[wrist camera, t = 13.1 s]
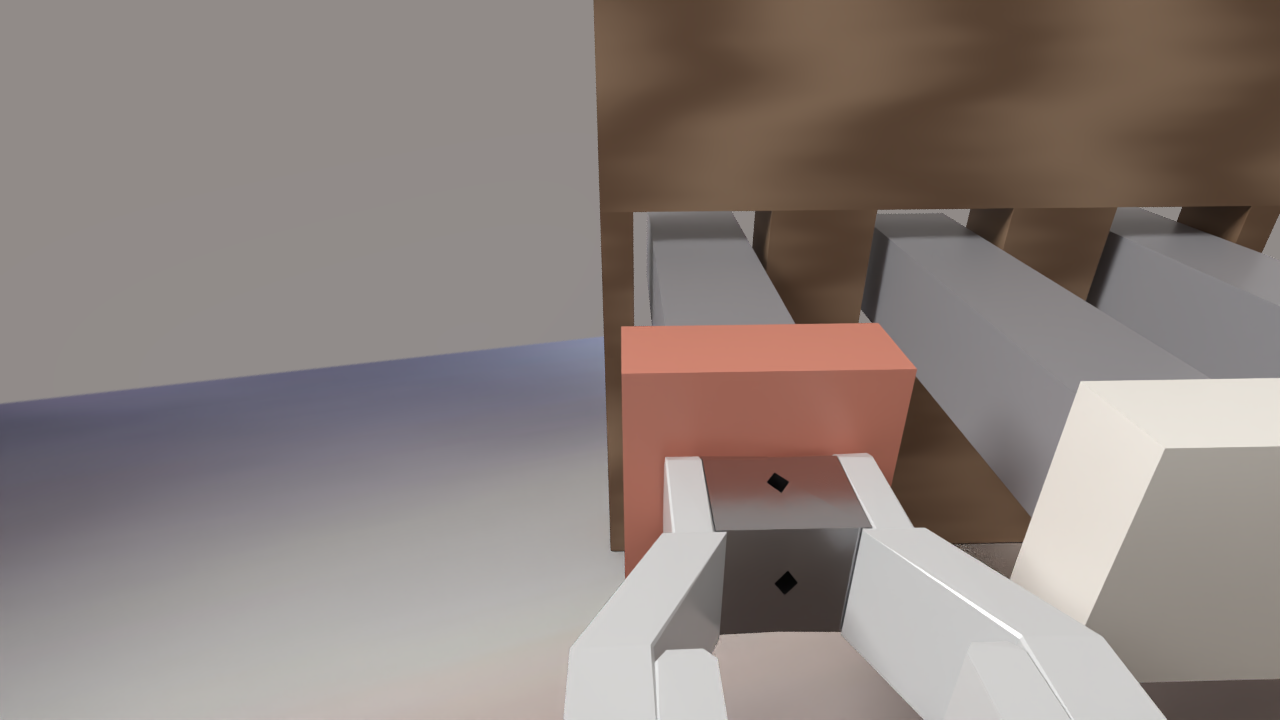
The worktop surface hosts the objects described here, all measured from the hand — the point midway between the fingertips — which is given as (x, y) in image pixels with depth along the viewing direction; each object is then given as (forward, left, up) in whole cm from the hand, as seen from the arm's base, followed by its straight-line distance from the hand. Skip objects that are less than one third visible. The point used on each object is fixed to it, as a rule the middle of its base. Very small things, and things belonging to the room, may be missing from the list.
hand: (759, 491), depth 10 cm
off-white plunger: (+6, +4, -2) cm, 8 cm away
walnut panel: (+6, +9, -9) cm, 14 cm away
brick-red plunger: (0, +6, -2) cm, 7 cm away
